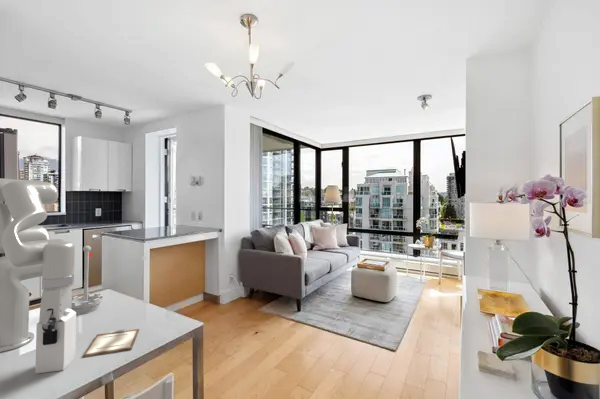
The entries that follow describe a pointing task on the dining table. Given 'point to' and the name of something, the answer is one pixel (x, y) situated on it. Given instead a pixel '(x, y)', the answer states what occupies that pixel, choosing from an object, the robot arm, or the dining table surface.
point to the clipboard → (112, 342)
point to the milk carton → (57, 345)
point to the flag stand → (86, 292)
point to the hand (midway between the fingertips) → (57, 336)
